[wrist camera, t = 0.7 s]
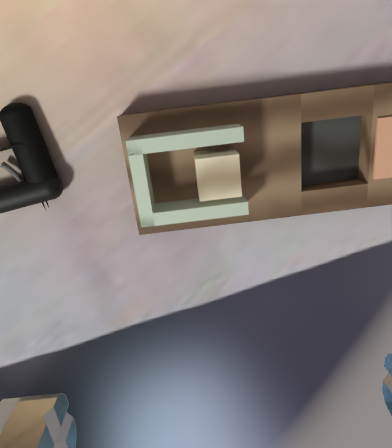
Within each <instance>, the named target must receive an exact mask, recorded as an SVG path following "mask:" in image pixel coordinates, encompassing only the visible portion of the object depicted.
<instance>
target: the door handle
mask: <svg viewBox="0 0 392 448" xmlns="http://www.w3.org/2000/svg"><path fill="white" fill-rule="evenodd" d="M0 121H1V123H2V126H3V128H4V130H5V133H6V135H7V137H8V140H9V142H10V145H11V146H9V147H5V148H2V149H0V151H4V150H7V149H11V148H12V149H13V152H14V154H15V156H16V159H17V161H18V164H19V166H20V168H21V171H22V173H23V175H24V178H25V180H26V181H23V179H22V178H21V176H20V175H19V174H18V173H17V172H16V171H15V170H14V169H13V168H12V167H10V166H9V165H8V164H6V163H5V162H3V163H2V164H1V165H0V167H2V168H4V169H5V170H6V171H8V172H9V173H10V174H12V175H13V176H14V177H15V178H16V179H17V181H18V183H15V184H11V185H7V186H4V187H0V213H4V212H8V211H11V210H15V209H19V208H22V207H26V206H30V205H33V204H37V203H41V202H42V204H43V206H44V203H43V202H44V201H46V203H47V201H48V200H52V199H55V198H57V197H59V196H60V195H61V193H62V191H63V183H62V181H61V180H60V179H59V178H58V175H57V173H56V170H55V168H54V165H53V162H52V160H51V157H50V155H49V152H48V150H47V147H46V145H45V142H44V140H43V137H42V134H41V132H40V129H39V127H38V124H37V122H36V119H35V117H34V114H33V111H32V109H31V108H30V107H29V106H28V105H26V104H22V103H13V104H9V105H7V106H5V107H4V108H3V109H2V110H1V111H0ZM47 205H48V203H47ZM48 207H49V206H48ZM44 208H45V206H44ZM45 210H46V209H45Z"/></svg>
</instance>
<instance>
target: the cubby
mask: <svg viewBox="0 0 392 448" xmlns="http://www.w3.org/2000/svg"><path fill="white" fill-rule="evenodd" d="M238 142H244V130H243V126H241V125H240V124H238V123H237V124H229V125H221V126H213V127H205V128H196V129H188V130H180V131H172V132H164V133H155V134H147V135H139V136H131V137H129V138H128V139H127V140H126V147H127V152H128V158H129V163H130V169H131V174H132V179H133V185H134V190H135V196H136V201H137V207H138V212H139V217H140V223H141V228H142V227H151V226H159V225H167V224H175V223H184V222H192V221H200V220H208V219H217V218H225V217H233V216H241V215H249V210H248V201H247V199H246V198H245V196H244V194H243V193H242V197H234V198H226V199H218V200H209V201H201V202H200V200H199V198H196V199H188V200H179V201H171V202H163V203H155V201H154V195H153V189H152V183H151V177H150V171H149V165H148V159H147V154H148V153H156V152H164V151H172V150H181V149H189V148H197V147H205V146H214V145H222V144H230V143H238Z"/></svg>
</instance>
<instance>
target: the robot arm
mask: <svg viewBox="0 0 392 448" xmlns="http://www.w3.org/2000/svg"><path fill="white" fill-rule="evenodd" d="M384 367H385V368H386V369H387V371H388V372H389V374H388V375H387V376H386V377H385V378H384V379H383V387H382V391H383V396H384V400H385V403H386V405H387V408H388V410H389V412H390V413H391V415H392V353H389V354H387V356H386V357H385V364H384ZM68 405H69V404H68V401H67V398H66V396H65V394H61V393H60V394H50V395H39V396H29V397H22V398H12V399H3V400H2V401H1V402H0V448H75V444H76V425H75V422H74V419H73V417H72V416H70V415H69V414H68V413H66V411H67V408H68Z"/></svg>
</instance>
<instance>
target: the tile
mask: <svg viewBox="0 0 392 448" xmlns="http://www.w3.org/2000/svg"><path fill="white" fill-rule="evenodd" d="M384 178H392V116H390V117H382V118H377V125H376V139H375V153H374V166H373V180H376V179H384Z"/></svg>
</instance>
